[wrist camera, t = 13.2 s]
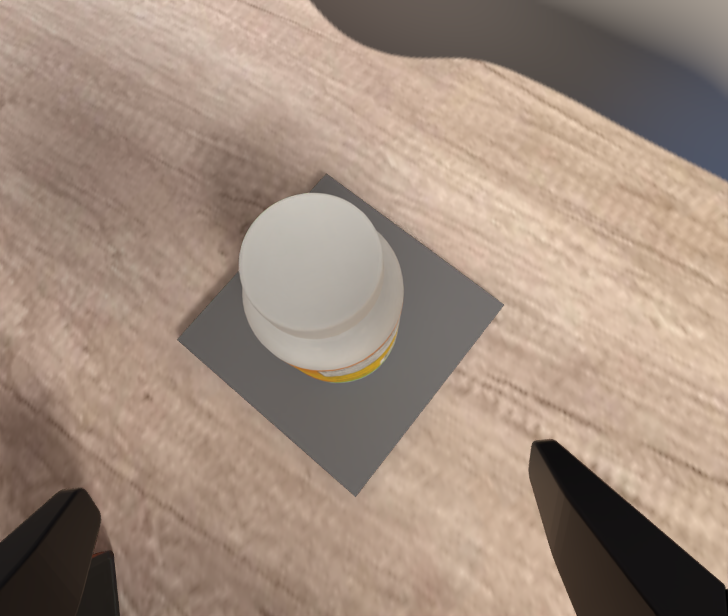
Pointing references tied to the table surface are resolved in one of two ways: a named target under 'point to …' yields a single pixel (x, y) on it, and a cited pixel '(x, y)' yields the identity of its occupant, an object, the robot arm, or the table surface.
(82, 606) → the radio
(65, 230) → the table surface
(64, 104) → the table surface
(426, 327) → the coaster mat
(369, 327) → the supplement bottle
